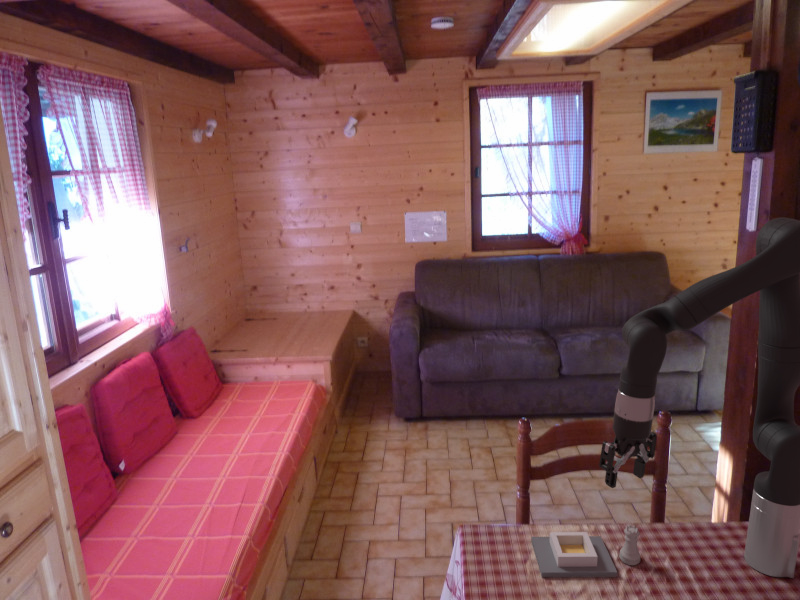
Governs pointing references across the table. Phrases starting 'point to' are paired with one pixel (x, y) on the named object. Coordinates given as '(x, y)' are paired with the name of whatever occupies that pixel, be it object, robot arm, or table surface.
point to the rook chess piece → (630, 546)
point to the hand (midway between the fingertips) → (624, 481)
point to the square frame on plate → (572, 555)
